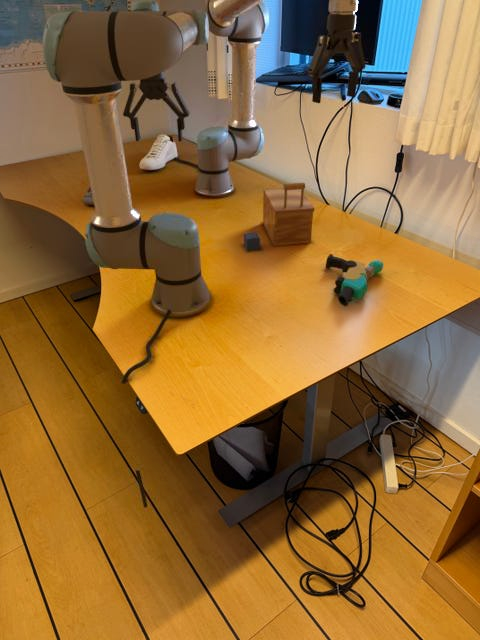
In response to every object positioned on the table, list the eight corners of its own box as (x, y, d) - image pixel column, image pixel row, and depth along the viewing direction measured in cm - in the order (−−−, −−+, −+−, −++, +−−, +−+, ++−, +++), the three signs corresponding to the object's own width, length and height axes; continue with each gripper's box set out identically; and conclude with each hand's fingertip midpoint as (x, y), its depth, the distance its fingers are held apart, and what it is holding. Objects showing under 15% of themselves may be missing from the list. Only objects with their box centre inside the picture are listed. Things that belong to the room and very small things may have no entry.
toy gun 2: (303, 285, 123) (360, 300, 117) (335, 245, 141) (386, 256, 135) (302, 300, 125) (358, 315, 119) (334, 258, 144) (383, 270, 138)
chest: (310, 242, 153) (313, 210, 146) (273, 245, 151) (274, 213, 145) (296, 220, 167) (298, 189, 160) (262, 222, 165) (263, 192, 159)
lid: (314, 211, 145) (316, 184, 140) (275, 214, 144) (276, 187, 139) (298, 189, 160) (300, 164, 155) (263, 191, 159) (263, 167, 154)
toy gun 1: (139, 195, 187) (124, 210, 175) (95, 192, 190) (77, 207, 178) (137, 185, 184) (122, 200, 173) (93, 182, 188) (75, 197, 176)
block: (260, 249, 149) (260, 237, 147) (247, 251, 148) (247, 239, 146) (256, 243, 152) (256, 231, 150) (243, 245, 152) (243, 233, 149)
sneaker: (133, 173, 208) (129, 144, 201) (161, 153, 230) (158, 127, 223) (155, 175, 205) (151, 146, 198) (180, 155, 227) (178, 129, 220)
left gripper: (195, 62, 139) (200, 137, 152) (112, 62, 141) (123, 136, 154) (191, 66, 133) (196, 143, 146) (105, 66, 135) (117, 143, 148)
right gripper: (316, 16, 119) (309, 107, 131) (385, 11, 130) (373, 96, 142) (297, 14, 124) (292, 102, 136) (365, 10, 135) (355, 92, 147)
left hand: (159, 140), depth 150 cm, fingers open, 13 cm apart
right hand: (333, 99), depth 139 cm, fingers open, 13 cm apart
